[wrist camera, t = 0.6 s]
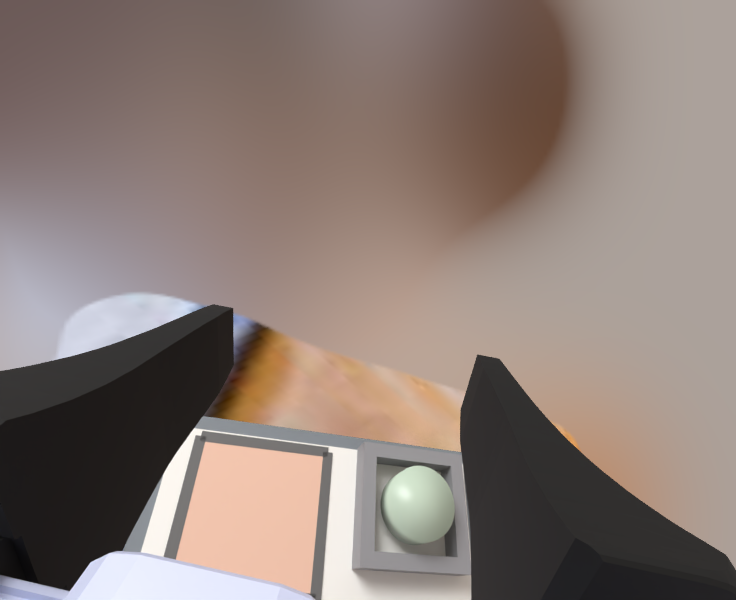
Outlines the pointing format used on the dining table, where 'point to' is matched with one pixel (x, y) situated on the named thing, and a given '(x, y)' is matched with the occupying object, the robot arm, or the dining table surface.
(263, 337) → the dining table surface
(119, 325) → the dining table surface
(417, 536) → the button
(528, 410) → the robot arm
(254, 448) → the board
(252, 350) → the dining table surface
